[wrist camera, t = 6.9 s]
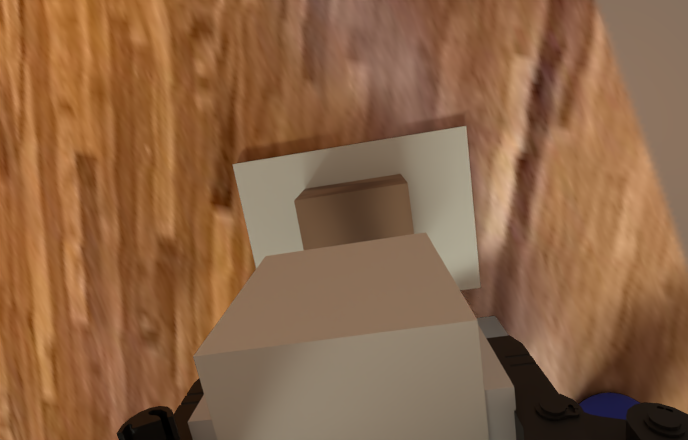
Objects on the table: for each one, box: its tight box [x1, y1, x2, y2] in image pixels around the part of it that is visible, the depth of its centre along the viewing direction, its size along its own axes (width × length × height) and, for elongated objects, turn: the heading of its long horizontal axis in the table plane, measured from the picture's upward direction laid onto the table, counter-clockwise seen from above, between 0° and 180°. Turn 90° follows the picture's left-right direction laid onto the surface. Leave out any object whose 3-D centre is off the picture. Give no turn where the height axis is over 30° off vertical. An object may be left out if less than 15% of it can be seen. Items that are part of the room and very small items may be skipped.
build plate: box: [233, 126, 481, 290], centre depth 31 cm, size 18×13×1 cm
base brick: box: [294, 174, 414, 250], centre depth 29 cm, size 8×8×5 cm
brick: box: [193, 232, 489, 440], centre depth 13 cm, size 6×6×7 cm
